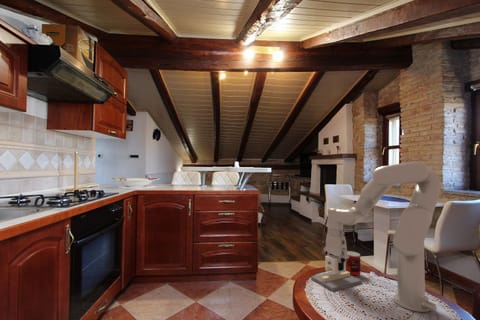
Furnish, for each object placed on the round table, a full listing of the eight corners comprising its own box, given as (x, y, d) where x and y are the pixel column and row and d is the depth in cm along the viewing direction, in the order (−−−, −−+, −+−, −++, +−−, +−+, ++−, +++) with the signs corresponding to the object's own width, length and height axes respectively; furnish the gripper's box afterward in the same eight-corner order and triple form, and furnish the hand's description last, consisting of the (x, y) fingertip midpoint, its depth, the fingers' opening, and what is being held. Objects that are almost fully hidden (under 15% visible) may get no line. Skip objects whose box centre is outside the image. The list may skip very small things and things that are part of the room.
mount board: (361, 283, 119) (361, 276, 119) (332, 291, 110) (332, 284, 111) (338, 272, 132) (338, 266, 132) (311, 279, 123) (311, 272, 123)
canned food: (348, 269, 136) (348, 250, 137) (363, 274, 130) (362, 253, 131) (342, 273, 131) (341, 252, 132) (356, 278, 125) (356, 256, 126)
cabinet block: (345, 271, 121) (345, 257, 121) (333, 274, 117) (333, 260, 117) (336, 267, 126) (336, 254, 126) (324, 270, 122) (324, 256, 122)
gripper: (355, 235, 117) (355, 273, 115) (327, 228, 132) (328, 261, 131) (344, 237, 113) (344, 275, 112) (317, 229, 129) (317, 263, 128)
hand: (335, 267), depth 122 cm, fingers closed on cabinet block, 6 cm apart
